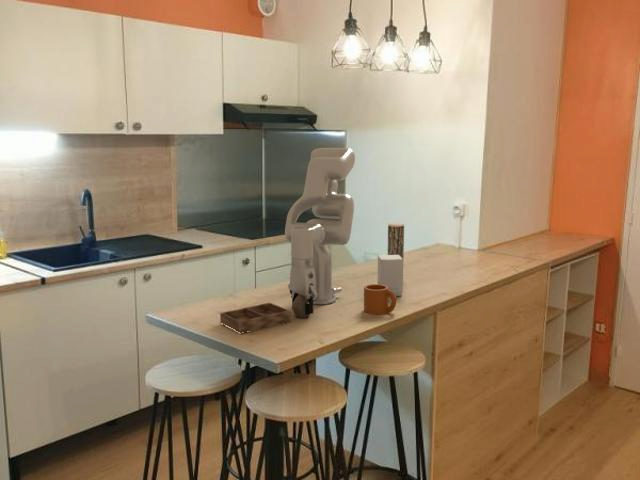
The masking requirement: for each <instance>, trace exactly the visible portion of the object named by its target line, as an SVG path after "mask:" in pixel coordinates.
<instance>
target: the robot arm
mask: <svg viewBox="0 0 640 480" xmlns="http://www.w3.org/2000/svg"><path fill="white" fill-rule="evenodd" d="M355 162H356V155H355V152H354V150H353V149H352V148H349V147H318V148H314V149H313V150H312V151H311V153H310V160H309V162H308V165H307V171H306V175H305V183H304V189H303V194H302V196H300V198H298V199H297V200H296V201H295V202H294V204H292V206H291V208H290V209H289V211H288V212H287V217H286V221H285V226H284V227H285V228H284V229H285V230H284V237H285V240H286V241H287V242H289V243H290V257H291V258H290V259H291V260H290V261H291V262H290V263H291V266H290V271H289V272H290V273H289V274H290V275H289V276H290V277H289V284H288V285H287V288H288V290H289V294H290V298H291V303H292V304H291V306H292V307H291V309H292V310H293V302H294V300H295V298H296V297H297V296H298V294H300V295H303V296H304V297H305V301H306V304H305V315H308V314H310V315H312V314H314V305H329V304H333V303H334V302H336V300H337V297H336V295H335V294H337V293H341V292H342V287H340V286H339V287H334V286H333V271H332V270H333V268H332V267H333V257H332V253H331V250H330V249H329V247H328V246H327V245H329V246H345V245H348V243H349V241H350V238H351V232H352V225H353V220H354V212H355V211H354V210H355V203H354V198H353V197H352V196H351V195H350V194H347V193H338V188H339V183H338V181H343V180H345V179H346V178H347V177H348V175H349V174H350V173H351V171H352V170H353V168H354V166H355ZM311 208H312V209H311ZM309 209H311V210H312V214H313V215H314V216H315V217H316V218H312V219H309V220H308V221H306V222H297V221H298V218H299V217H300V216H301V215H302V214H303V213H304V212H305V211H306V210H307V211H308V210H309ZM308 297H309V300H308Z"/></svg>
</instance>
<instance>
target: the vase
mask: <svg viewBox="0 0 640 480" xmlns="http://www.w3.org/2000/svg"><path fill="white" fill-rule="evenodd" d="M308 300H309V297H308ZM305 304H306V301H305V297H304V296H303V295H300V294H298V296H297V297H296V298H295V300H294V302H293V309H292V312H293V313H294V315H295V317H297V318H298V317H299V318H298V319H306V317H307V318H308V317H309V316H310V315H311V314H308V315H305Z"/></svg>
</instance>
